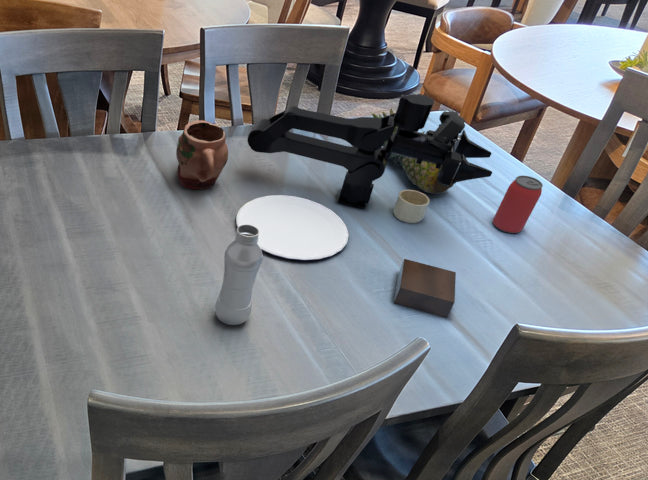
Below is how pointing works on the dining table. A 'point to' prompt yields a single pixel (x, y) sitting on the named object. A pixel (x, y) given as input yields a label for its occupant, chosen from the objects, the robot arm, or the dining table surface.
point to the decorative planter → (201, 154)
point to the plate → (294, 227)
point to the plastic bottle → (239, 276)
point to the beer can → (518, 204)
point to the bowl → (411, 206)
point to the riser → (425, 288)
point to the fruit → (418, 170)
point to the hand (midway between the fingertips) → (491, 164)
